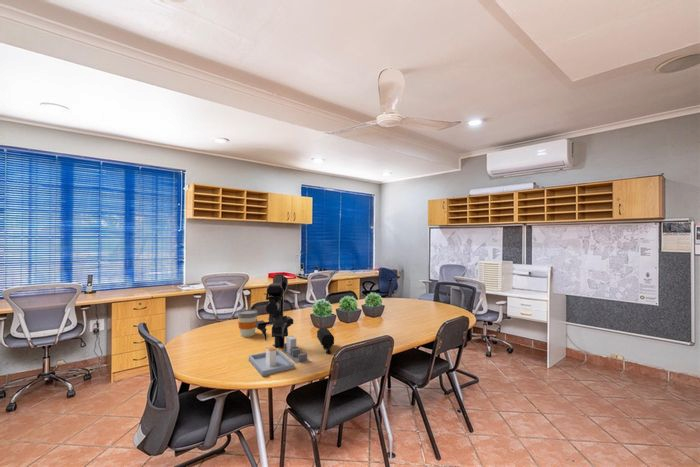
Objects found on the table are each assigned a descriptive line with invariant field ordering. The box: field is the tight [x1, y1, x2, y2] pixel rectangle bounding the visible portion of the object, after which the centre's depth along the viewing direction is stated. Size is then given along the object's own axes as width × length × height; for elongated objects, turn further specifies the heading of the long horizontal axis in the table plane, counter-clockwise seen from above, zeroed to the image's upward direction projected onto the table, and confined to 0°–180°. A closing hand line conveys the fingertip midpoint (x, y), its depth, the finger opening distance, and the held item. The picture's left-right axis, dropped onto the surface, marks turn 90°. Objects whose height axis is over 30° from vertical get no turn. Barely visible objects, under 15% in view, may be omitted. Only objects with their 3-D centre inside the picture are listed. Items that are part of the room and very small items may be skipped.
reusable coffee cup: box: [237, 309, 259, 338], centre depth 211 cm, size 13×13×15 cm
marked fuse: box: [265, 344, 277, 366], centre depth 163 cm, size 6×3×8 cm, turn 32°
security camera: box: [316, 327, 335, 355], centre depth 186 cm, size 7×18×10 cm, turn 16°
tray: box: [248, 349, 296, 377], centre depth 163 cm, size 23×16×2 cm
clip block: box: [280, 342, 310, 364], centre depth 175 cm, size 21×8×4 cm, turn 32°
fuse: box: [285, 335, 297, 353], centre depth 180 cm, size 6×3×8 cm, turn 32°
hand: (274, 339), depth 167 cm, fingers open, 9 cm apart
